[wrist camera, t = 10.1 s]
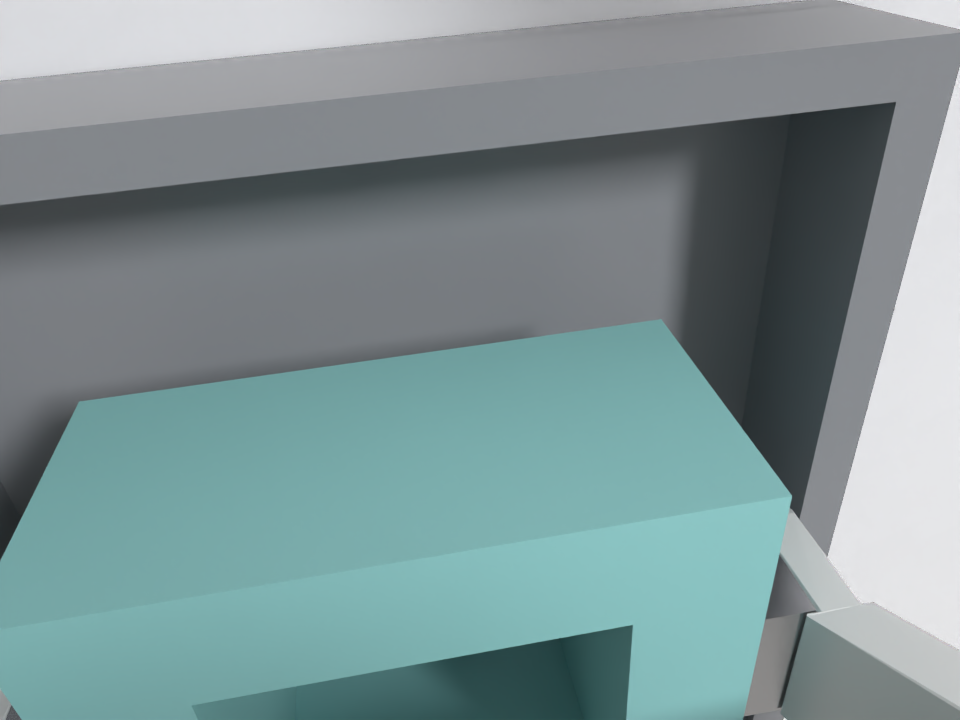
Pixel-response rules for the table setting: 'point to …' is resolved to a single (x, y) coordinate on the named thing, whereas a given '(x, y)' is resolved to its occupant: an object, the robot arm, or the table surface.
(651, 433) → the ring
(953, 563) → the table surface
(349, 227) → the tray
